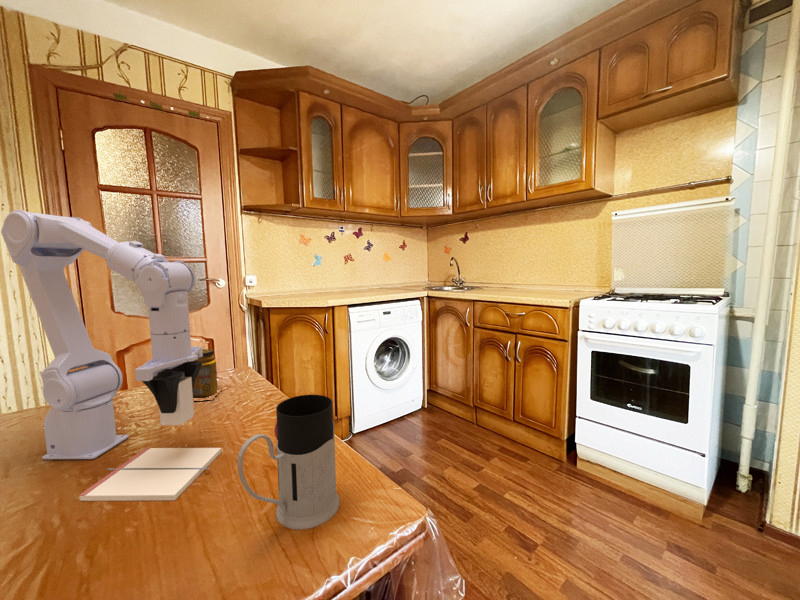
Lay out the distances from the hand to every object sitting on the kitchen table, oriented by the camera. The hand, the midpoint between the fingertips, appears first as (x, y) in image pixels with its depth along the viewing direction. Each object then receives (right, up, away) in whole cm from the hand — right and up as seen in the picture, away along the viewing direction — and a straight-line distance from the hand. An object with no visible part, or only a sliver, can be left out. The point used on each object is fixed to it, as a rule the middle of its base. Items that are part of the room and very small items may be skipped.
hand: (176, 407), depth 60 cm
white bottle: (0, -2, 0) cm, 2 cm away
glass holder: (+25, -11, -14) cm, 30 cm away
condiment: (-13, -7, +30) cm, 34 cm away
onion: (+19, -9, +4) cm, 22 cm away
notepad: (0, -10, -4) cm, 10 cm away
